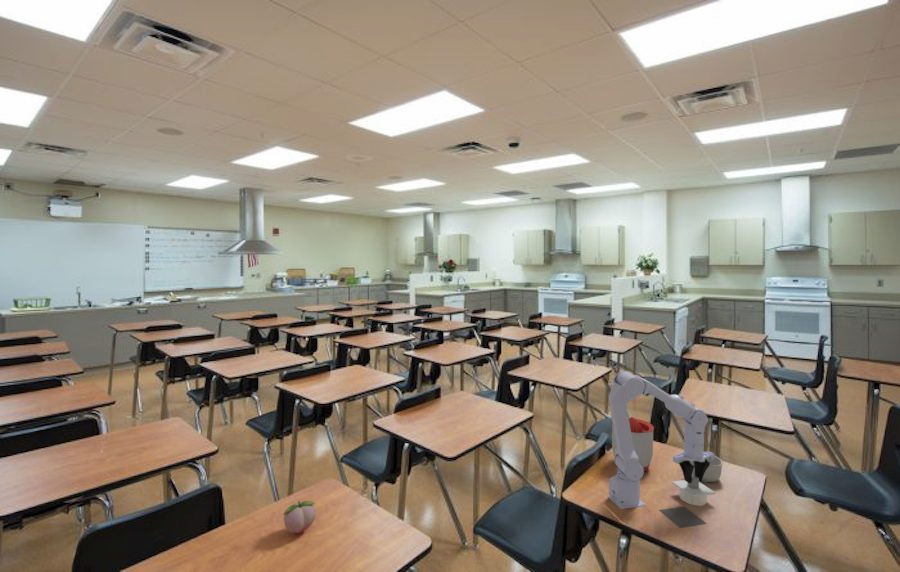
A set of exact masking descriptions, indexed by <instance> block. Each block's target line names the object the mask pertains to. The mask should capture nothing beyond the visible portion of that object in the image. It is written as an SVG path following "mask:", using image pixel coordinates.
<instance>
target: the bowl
mask: <svg viewBox="0 0 900 572" xmlns="http://www.w3.org/2000/svg"><path fill="white" fill-rule="evenodd" d="M678 491H679V493H678V495H679V499H680V500H681V501H682V502H683V503H687V504H689V505H692V506H699V507H700V506H701V507H702V506H705V505H706V504H708V495H704V496H696V497H691V496H689V495H688V494H686V493H685V492H684V491H682V490H681V489H679V488H678Z"/></svg>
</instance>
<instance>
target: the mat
mask: <svg viewBox="0 0 900 572" xmlns="http://www.w3.org/2000/svg"><path fill="white" fill-rule="evenodd" d="M658 511H659V512H660V513H661V514H663V515H664V516H665V517H666V518H668V519H669V520H670V521H671V522H672V523H673V524H675V525H676V526H677V527H678V528H679V529H684V528H689V527H695V526H696V527H697V526H701V525H707V524H708V523H707V522H705V521H704V520H703V519H702V518H700V517H699V516H697V515H696V514H695V513H694V512H692V511H691V510H689V509H688V508H687V507H686V506H685V505H684V506H676V507H671V508H670V507H668V508H662V509H658Z"/></svg>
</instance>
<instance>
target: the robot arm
mask: <svg viewBox="0 0 900 572" xmlns="http://www.w3.org/2000/svg"><path fill="white" fill-rule="evenodd" d="M648 394H650V395H651V396H653V397H655V398H656V399H658V400H660V401H661V402H663V403H664V405H665V408H666V410H668V411H670V412H672V413H673V414H675V415H676V416H678V417H679V418H681V419H683V420H684V430H683V431H684V432H683V434H684V439H683V440H684V441H683V452H680V453H678V454H675V455H673V456H672V462H674V463H675V464H677V465H679V466H680V469H681V472H682V474H683V475H682V476H683V480H685V481H686V482H688V483H691V481H692V472H693V469H694V467H695V476H696V477H698V478H699V482H700V483H702V482H703V481H702V479H703V476H704V473H705V471H706V470H707V468H708V467H709V466H710V462H708V461H707V459H711V460H712V459H714V456H715V453H714V452H712V451H704V449H705V448H704V444H705V438H704V437H705V436H704V435H705V428H706V425H708V422H709V418H708V416H707V413H706V412H705V411H704V410H702V409H700V408H698V407H696V404H694V403H693V402H689V401H687V400H685V399H684V398H685V397H684V396H683V395H680V394H675V393H674V394H669V393H667V392H666V391H664V390H663V389H661V387H660V388H659V386H657V385H655V384H653V383H652V382H650V381H649V380H647V379H645V378H642V377H641V376H638V375H636V374H632V373H631V372H629V371H627V370H620V371H619V372H617V373H616V374H615V376H614V377H613V378H612V385H611V389H610V392H609V395H608V403H609V409H610V415H611V422H612V421H613V426H614V432H615V437H616V443H617V448H616V449H615V453H616V454H615V458H613V460H614V461H613V462H614V464H615V466H616V467H617V471H616V474H615V475H614V476H612V477H609V480H608V495H607V498H609V500H610V501H612V502H613V504H615V506H617V507H618V508H619V509H621V510H624V509H631V508H638V507H644V506H647V505H646V503H645V502H643V501H642V500H641V479H642V478H643V476H644V473H645V471H644V469H643V467H642V466H641V464H640V463H639V458H638V456H637V454H636V452H635V450H634V446H633V440H632V435H631V429H630V424H629V418H630V417H629V414H628V408H627V404H629V403H630V402H631V401H633V400H634V399H636V398H637V397H639V396H641V395H645V396H646V395H648ZM690 461H693V462H694V466H693V465H692V464H691V463H690Z"/></svg>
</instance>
